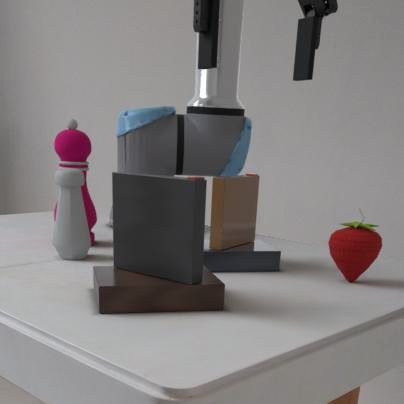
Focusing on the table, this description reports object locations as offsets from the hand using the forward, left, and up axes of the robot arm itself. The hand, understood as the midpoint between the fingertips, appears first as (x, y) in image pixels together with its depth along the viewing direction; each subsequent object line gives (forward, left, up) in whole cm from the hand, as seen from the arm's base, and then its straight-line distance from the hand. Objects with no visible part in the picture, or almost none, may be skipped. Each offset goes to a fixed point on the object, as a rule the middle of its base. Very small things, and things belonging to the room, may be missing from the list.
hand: (257, 75), depth 65 cm
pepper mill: (-33, -20, -25) cm, 46 cm away
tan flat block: (-15, +3, -22) cm, 27 cm away
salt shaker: (-21, -21, -25) cm, 39 cm away
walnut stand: (+4, -12, -25) cm, 28 cm away
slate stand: (-15, +3, -25) cm, 29 cm away
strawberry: (-3, +17, -25) cm, 30 cm away
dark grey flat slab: (+4, -12, -22) cm, 26 cm away
